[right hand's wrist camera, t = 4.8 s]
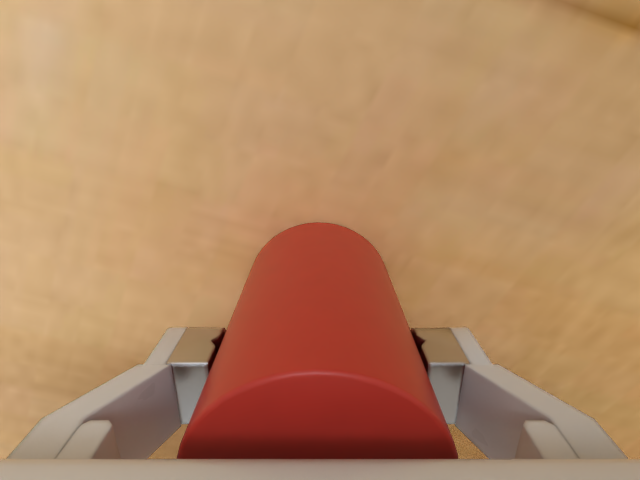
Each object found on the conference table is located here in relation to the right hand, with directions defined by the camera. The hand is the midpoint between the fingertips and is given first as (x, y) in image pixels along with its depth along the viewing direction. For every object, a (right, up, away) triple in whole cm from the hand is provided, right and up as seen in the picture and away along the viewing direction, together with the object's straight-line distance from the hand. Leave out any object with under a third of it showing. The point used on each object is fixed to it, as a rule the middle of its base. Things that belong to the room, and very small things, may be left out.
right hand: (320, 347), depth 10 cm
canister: (0, +1, +3) cm, 4 cm away
